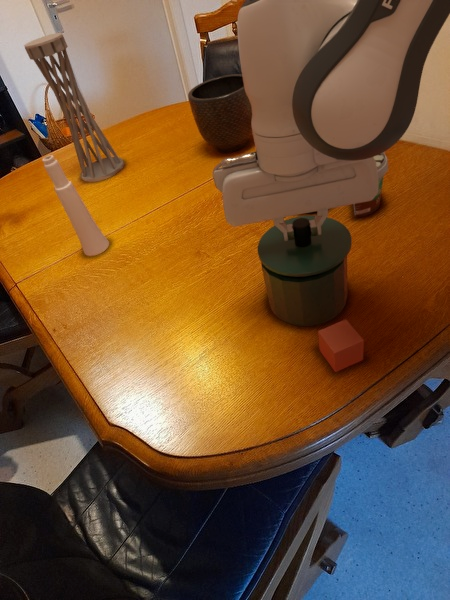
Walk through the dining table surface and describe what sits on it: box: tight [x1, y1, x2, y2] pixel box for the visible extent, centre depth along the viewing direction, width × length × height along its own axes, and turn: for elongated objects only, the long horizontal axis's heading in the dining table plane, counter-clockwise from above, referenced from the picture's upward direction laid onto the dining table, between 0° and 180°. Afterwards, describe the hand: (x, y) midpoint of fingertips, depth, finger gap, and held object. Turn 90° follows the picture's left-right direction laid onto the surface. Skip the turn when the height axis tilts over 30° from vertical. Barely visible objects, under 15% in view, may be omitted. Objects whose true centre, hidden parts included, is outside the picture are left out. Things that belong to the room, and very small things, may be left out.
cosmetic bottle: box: [42, 154, 110, 257], centre depth 85 cm, size 6×6×22 cm
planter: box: [187, 73, 253, 154], centre depth 110 cm, size 17×17×16 cm
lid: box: [257, 215, 353, 277], centre depth 59 cm, size 14×14×5 cm
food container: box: [353, 152, 389, 219], centre depth 79 cm, size 12×6×10 cm, turn 171°
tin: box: [260, 256, 348, 327], centre depth 64 cm, size 13×13×10 cm
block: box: [317, 318, 365, 373], centre depth 56 cm, size 4×4×4 cm
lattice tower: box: [23, 32, 125, 183], centre depth 111 cm, size 14×13×35 cm
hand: (302, 235), depth 59 cm, fingers closed on lid, 2 cm apart
